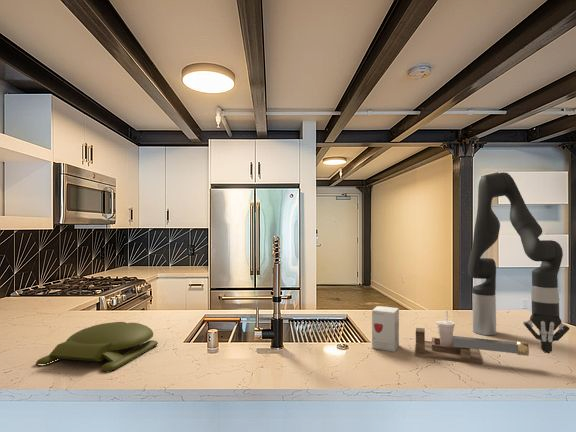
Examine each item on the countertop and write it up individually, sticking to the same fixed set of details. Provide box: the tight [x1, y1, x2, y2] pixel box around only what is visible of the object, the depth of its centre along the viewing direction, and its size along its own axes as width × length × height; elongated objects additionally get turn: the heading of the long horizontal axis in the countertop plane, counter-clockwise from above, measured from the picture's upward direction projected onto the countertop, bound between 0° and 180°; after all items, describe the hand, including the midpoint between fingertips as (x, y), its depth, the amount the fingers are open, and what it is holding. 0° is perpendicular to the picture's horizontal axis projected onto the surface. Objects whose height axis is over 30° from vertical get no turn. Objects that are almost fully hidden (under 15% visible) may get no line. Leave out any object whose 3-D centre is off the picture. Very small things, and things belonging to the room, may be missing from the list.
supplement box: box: [371, 305, 400, 352], centre depth 142 cm, size 9×9×15 cm
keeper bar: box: [452, 335, 530, 357], centre depth 125 cm, size 4×23×4 cm, turn 68°
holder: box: [414, 327, 483, 365], centre depth 135 cm, size 17×22×9 cm
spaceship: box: [35, 321, 159, 372], centre depth 136 cm, size 35×31×10 cm
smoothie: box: [436, 310, 456, 346], centre depth 137 cm, size 6×6×14 cm
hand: (546, 352), depth 119 cm, fingers closed
